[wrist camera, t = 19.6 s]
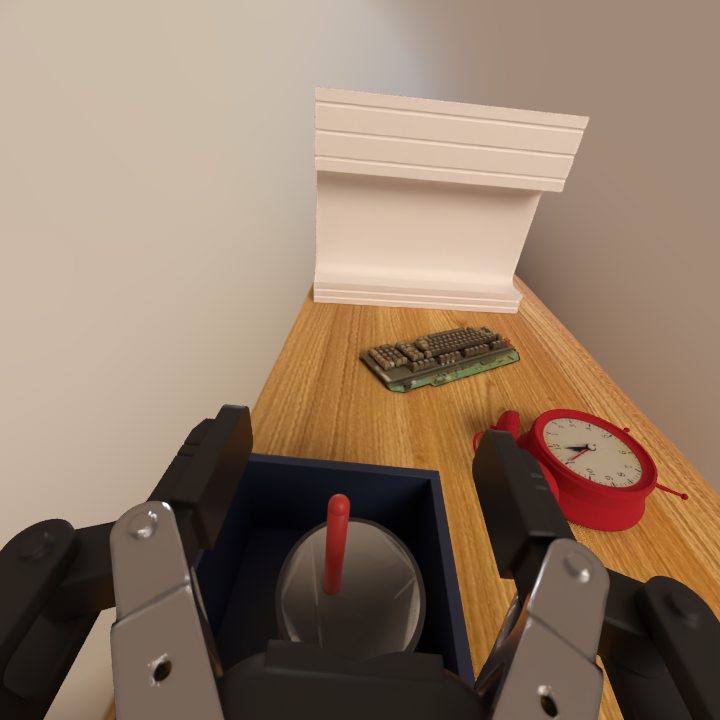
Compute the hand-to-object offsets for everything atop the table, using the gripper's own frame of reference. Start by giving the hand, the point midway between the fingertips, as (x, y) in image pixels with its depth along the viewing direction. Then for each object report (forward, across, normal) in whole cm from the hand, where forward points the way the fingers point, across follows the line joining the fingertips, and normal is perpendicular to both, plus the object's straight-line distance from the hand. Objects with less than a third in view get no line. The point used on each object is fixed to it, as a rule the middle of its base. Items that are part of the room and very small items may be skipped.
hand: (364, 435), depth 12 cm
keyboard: (+30, -11, +16) cm, 36 cm away
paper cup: (-2, 0, +15) cm, 15 cm away
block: (+49, -8, +15) cm, 52 cm away
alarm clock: (+12, -18, +16) cm, 27 cm away
